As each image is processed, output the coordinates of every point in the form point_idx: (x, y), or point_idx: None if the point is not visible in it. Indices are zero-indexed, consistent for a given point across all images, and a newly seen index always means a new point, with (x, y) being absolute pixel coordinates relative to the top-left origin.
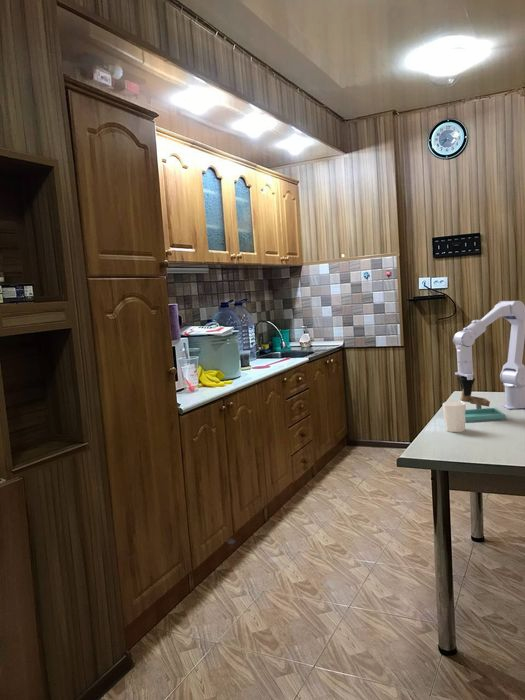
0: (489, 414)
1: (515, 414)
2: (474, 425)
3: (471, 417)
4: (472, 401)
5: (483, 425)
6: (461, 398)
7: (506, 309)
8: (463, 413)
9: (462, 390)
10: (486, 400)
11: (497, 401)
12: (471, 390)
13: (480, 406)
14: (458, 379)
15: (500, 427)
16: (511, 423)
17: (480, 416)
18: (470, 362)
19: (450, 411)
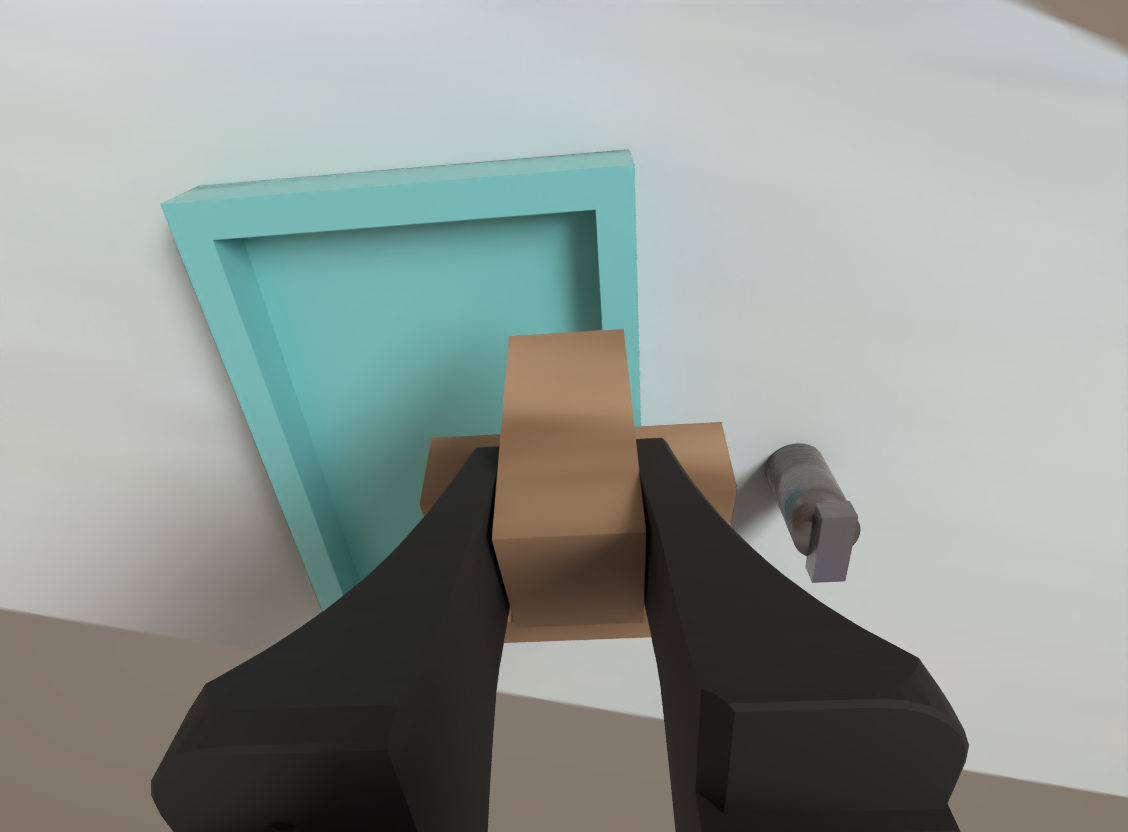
0: None
1: (530, 676)
2: (55, 301)
3: (215, 325)
4: (431, 478)
5: (77, 388)
6: (567, 358)
7: None
8: None
9: (623, 480)
10: (528, 628)
11: (1107, 665)
12: (514, 617)
13: (781, 511)
14: (700, 663)
15: (29, 506)
16: (200, 600)
17: (251, 426)
18: None
19: None
